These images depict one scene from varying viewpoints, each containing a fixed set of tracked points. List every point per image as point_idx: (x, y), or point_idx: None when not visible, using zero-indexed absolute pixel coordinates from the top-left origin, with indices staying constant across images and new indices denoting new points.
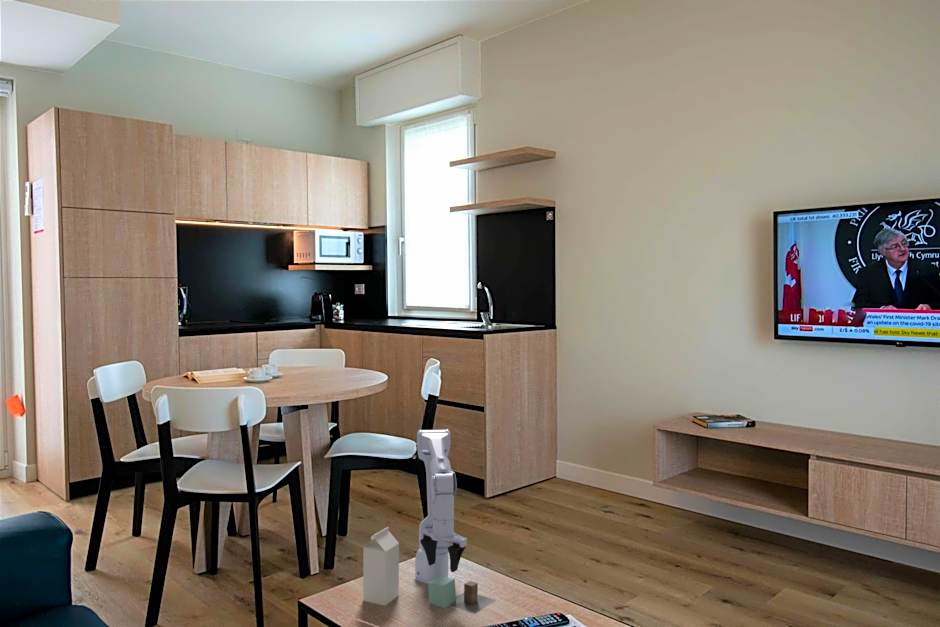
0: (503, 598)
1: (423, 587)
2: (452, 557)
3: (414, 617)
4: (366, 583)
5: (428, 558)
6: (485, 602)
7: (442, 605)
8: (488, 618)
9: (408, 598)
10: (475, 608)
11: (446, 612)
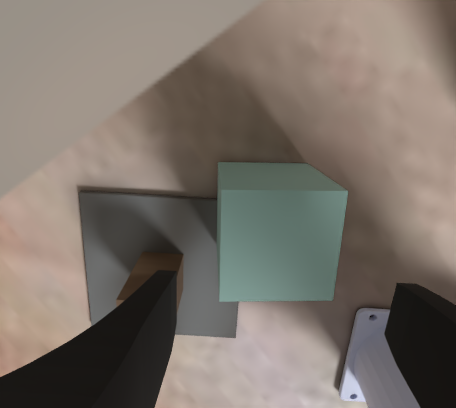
0: None
1: (418, 284)
2: (79, 349)
3: (297, 4)
4: None
5: (450, 312)
6: (112, 294)
7: (231, 164)
8: (20, 196)
9: (430, 163)
10: (108, 231)
11: (197, 143)
